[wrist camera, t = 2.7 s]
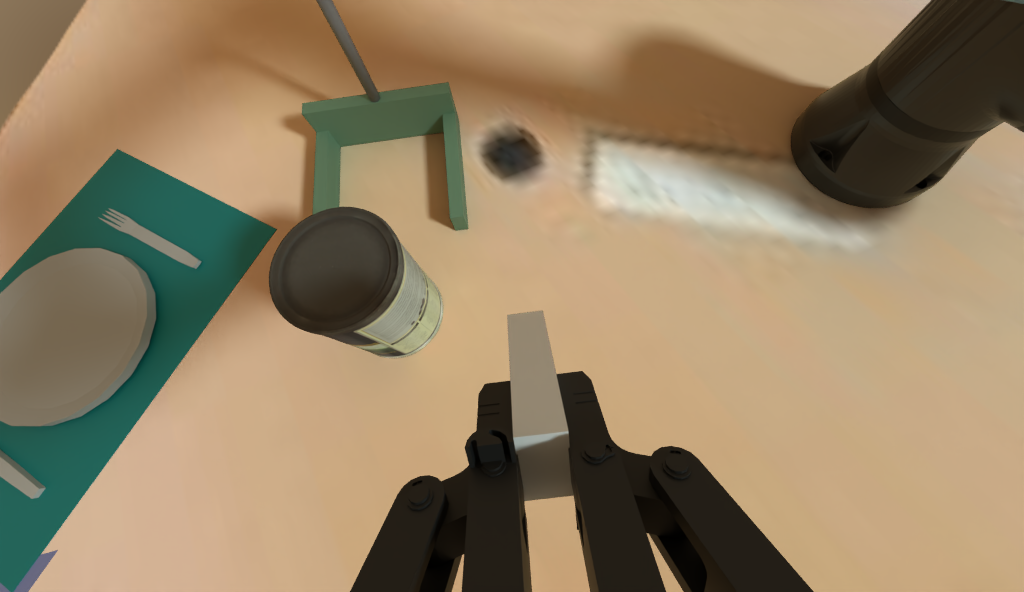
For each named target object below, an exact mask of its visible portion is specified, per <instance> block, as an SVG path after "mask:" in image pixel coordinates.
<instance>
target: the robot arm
mask: <svg viewBox="0 0 1024 592" xmlns="http://www.w3.org/2000/svg"><path fill="white" fill-rule="evenodd" d="M1003 122H1006V123H1008V124H1010V125H1011V126H1013V127H1015V128H1017V129H1019V130H1020V131H1022V132H1024V0H931V1H930V2H929V3H928V4H927V5H926V6H925V7H924V8H923V9H922V11H921V12H920V13H919V14H918V15H917V16H916V17H915V18H914V19H913V20H912V21H911V22H910V23H909V24H908V25H907V26H906V27H905V28H904V29H903V30H902V31H901V32H900V33H899V34H898V35H897V36H896V37H895V39H894V40H893V41H892V42H891V43H890V44H889V45H888V46H887V47H886V48H885V49H884V50H883V51H882V52H881V53H880V54H879V55H878V56H877V57H876V59H875V60H874V61H873V62H872V63H871V64H869V65H867V66H866V67H864V68H863V69H861V70H859V71H858V72H856V73H855V74H853V75H851V76H850V77H848V78H846V79H845V80H843V81H842V82H840V83H839V84H837V85H835V86H834V87H832V88H831V89H829V90H827V91H826V92H824V93H823V94H821V95H820V96H819V97H817V98H816V99H815V100H814V101H813V102H812V103H811V104H810V105H809V107H808V108H807V109H806V110H805V111H804V112H803V113H802V114H801V116H800V117H799V118H798V120H797V121H796V123H795V125H794V128H793V131H792V136H791V147H792V152H793V156H794V159H795V161H796V163H797V165H798V167H799V168H800V170H801V171H802V173H803V174H804V175H805V176H806V178H807V179H808V180H809V181H810V182H811V183H812V184H813V185H815V186H816V187H817V188H818V189H820V190H821V191H823V192H824V193H826V194H827V195H829V196H831V197H833V198H835V199H837V200H840V201H842V202H845V203H848V204H851V205H855V206H860V207H868V208H884V207H891V206H896V205H899V204H902V203H905V202H907V201H909V200H911V199H913V198H915V197H916V196H918V195H920V194H922V193H923V192H925V191H927V190H928V189H930V188H931V187H933V186H934V185H935V184H937V183H938V182H939V181H940V180H941V179H942V178H943V177H944V176H945V175H946V174H947V172H948V171H949V170H950V169H951V168H952V167H953V166H954V165H955V164H956V162H957V161H958V160H959V159H960V158H961V157H962V156H963V155H964V153H965V152H966V151H967V150H968V149H969V148H970V147H971V146H972V144H973V143H974V142H975V141H976V140H977V139H978V138H979V137H980V136H982V135H983V134H985V133H987V132H988V131H990V130H991V129H993V128H995V127H996V126H998V125H999V124H1001V123H1003ZM507 319H508V340H509V361H510V381H505V382H496V383H488V384H485V385H484V386H483V388H482V390H481V391H480V393H479V398H478V417H477V431H476V432H474V433H473V434H472V435H471V436H470V437H469V439H468V440H467V442H466V446H465V450H466V454H467V458H468V462H469V466H468V467H467V468H466V469H465V470H463V471H462V472H461V473H459V474H457V475H455V476H453V477H451V478H448V479H446V480H444V481H440V480H439V479H438V478H436V477H433V476H430V475H428V476H420V477H417V478H415V479H412V480H411V481H409V482H408V483H407V484H406V485H404V486H403V488H402V489H401V491H400V492H399V493H398V495H397V497H396V499H395V501H394V503H393V505H392V507H391V509H390V511H389V513H388V515H387V517H386V519H385V521H384V524H383V526H382V528H381V530H380V532H379V534H378V536H377V538H376V540H375V542H374V544H373V546H372V548H371V550H370V552H369V554H368V556H367V558H366V560H365V562H364V564H363V566H362V568H361V570H360V573H359V575H358V577H357V579H356V581H355V583H354V585H353V587H352V589H351V591H350V592H451V591H452V588H453V585H454V581H455V578H456V574H457V571H458V568H459V564H460V561H461V557H462V555H463V554H464V567H463V582H462V592H532V585H531V572H530V558H529V545H528V531H527V519H526V513H525V505H524V501H529V500H538V499H546V498H555V497H564V496H573V495H574V500H575V508H576V521H577V530H579V533H580V539H581V544H582V549H583V555H584V560H585V566H586V571H587V576H588V582H589V587H590V592H666V590H665V587H664V584H663V581H662V578H661V575H660V572H659V569H658V566H657V563H656V560H655V557H654V554H653V551H652V548H651V545H650V542H649V539H648V537H647V534H646V533H649V535H650V536H651V538H652V540H653V541H654V543H655V545H656V546H657V548H658V550H659V551H660V553H661V555H662V556H663V558H664V560H665V561H666V563H667V565H668V566H669V568H670V570H671V571H672V573H673V575H674V576H675V578H676V580H677V581H678V583H679V585H680V586H681V588H682V590H683V591H684V592H813V590H812V589H811V588H810V587H809V586H808V585H807V584H806V582H805V581H804V580H803V579H802V578H801V577H800V576H799V574H798V573H797V572H796V571H795V570H794V569H793V567H792V566H791V565H790V564H789V563H788V562H787V561H786V559H785V558H784V557H783V556H782V555H781V554H780V552H779V551H778V550H777V549H776V548H775V547H774V546H773V544H772V543H771V542H770V541H769V540H768V539H767V538H766V536H765V535H764V534H763V533H762V532H761V531H760V529H759V528H758V527H757V526H756V525H755V524H754V523H753V521H752V520H751V519H750V518H749V517H748V516H747V515H746V513H745V512H744V511H743V510H742V509H741V508H740V506H739V505H738V504H737V503H736V502H735V501H734V500H733V498H732V497H731V496H730V495H729V494H728V493H727V491H726V490H725V489H724V488H723V487H722V486H721V485H720V483H719V482H718V481H717V480H716V479H715V478H714V477H713V475H712V474H711V473H710V472H709V471H708V470H707V468H706V467H705V466H704V465H703V464H702V463H701V462H700V460H699V459H698V458H697V457H695V456H694V455H693V454H692V453H691V452H689V451H687V450H684V449H682V448H679V447H673V446H668V447H661V448H659V449H658V450H656V451H654V453H653V454H652V456H646V455H640V454H635V453H631V452H628V451H626V450H623V449H621V448H620V447H619V446H617V445H616V444H615V443H614V442H613V441H612V439H611V437H610V435H609V433H608V430H607V427H606V424H605V421H604V418H603V415H602V412H601V409H600V406H599V403H598V400H597V396H596V393H595V390H594V387H593V384H592V381H591V379H590V378H589V377H588V376H587V375H586V374H585V373H584V372H583V371H579V372H571V373H563V374H556V370H555V365H554V361H553V356H552V351H551V347H550V342H549V337H548V332H547V328H546V323H545V318H544V314H543V311H535V312H527V313H519V314H511V315H507Z"/></svg>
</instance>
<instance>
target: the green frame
mask: <svg viewBox="0 0 1024 592" xmlns="http://www.w3.org/2000/svg"><path fill="white" fill-rule="evenodd" d="M316 1H317V2H318V4H319V6H320V8H321V10H322V12H323V14H324V15H325V17H326V19H327V21H328V23H329V25H330V27H331V28H332V30H333V32H334V34H335V36H336V38H337V40H338V41H339V43H340V45H341V47H342V49H343V51H344V53H345V54H346V56H347V58H348V60H349V62H350V64H351V66H352V67H353V69H354V71H355V73H356V75H357V77H358V79H359V80H360V82H361V84H362V86H363V88H364V90H365V92H366V93H367V94H364V95H357V96H350V97H343V98H336V99H330V100H323V101H316V102H309V103H302V115H303V116H304V117H305V119H306V120H307V121H308V122H309V124H310V125H311V126H312V127H313V129H314V130H315V131H316V151H315V173H314V195H313V214H316V213H318V212H320V211H323V210H326V209H330V208H336V207H339V193H340V149H341V147H343V146H350V145H357V144H364V143H371V142H378V141H385V140H392V139H400V138H407V137H414V136H421V135H428V134H435V133H442V132H444V142H445V156H446V170H447V184H448V198H449V211H450V219H451V222H452V224H453V226H454V228H455V230H464V229H468V219H467V208H466V196H465V185H464V173H463V162H462V150H461V139H460V127H459V119H458V115H457V112H456V108H455V104H454V101H453V97H452V93H451V90H450V86H449V82H447V83H440V84H433V85H426V86H419V87H412V88H406V89H399V90H392V91H385V92H378V91H377V89H376V87H375V85H374V83H373V81H372V79H371V77H370V75H369V73H368V71H367V69H366V67H365V65H364V63H363V61H362V59H361V57H360V55H359V53H358V51H357V49H356V47H355V45H354V43H353V41H352V39H351V37H350V35H349V33H348V31H347V29H346V27H345V25H344V23H343V21H342V19H341V17H340V15H339V13H338V11H337V9H336V7H335V5H334V3H333V1H332V0H316Z"/></svg>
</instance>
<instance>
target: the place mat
mask: <svg viewBox="0 0 1024 592" xmlns="http://www.w3.org/2000/svg"><path fill="white" fill-rule="evenodd" d="M276 230H277V229H275V228H273V227H271V226H269V225H267V224H265V223H263V222H261V221H259V220H257V219H255V218H253V217H251V216H249V215H247V214H245V213H243V212H241V211H239V210H237V209H235V208H233V207H231V206H229V205H227V204H225V203H223V202H221V201H219V200H217V199H215V198H213V197H211V196H209V195H208V194H206V193H204V192H202V191H200V190H198V189H196V188H194V187H192V186H190V185H188V184H186V183H184V182H182V181H180V180H178V179H176V178H174V177H172V176H170V175H168V174H166V173H164V172H162V171H160V170H158V169H156V168H154V167H152V166H150V165H148V164H146V163H144V162H142V161H140V160H138V159H136V158H134V157H132V156H130V155H128V154H126V153H124V152H122V151H120V150H118V149H117V150H116V151H115V152H114V153H113V155H112V156H111V157H110V158H109V159H108V160H107V161H106V162H105V164H104V165H103V166H102V167H101V168H100V169H99V170H98V171H97V173H96V174H95V175H94V176H93V177H92V178H91V179H90V180H89V181H88V183H87V184H86V185H85V186H84V187H83V188H82V189H81V190H80V192H79V193H78V194H77V195H76V196H75V197H74V198H73V199H72V200H71V202H70V203H69V204H68V205H67V206H66V207H65V208H64V209H63V211H62V212H61V213H60V214H59V215H58V216H57V217H56V218H55V219H54V221H53V222H52V223H51V224H50V225H49V226H48V227H47V228H46V230H45V231H44V232H43V233H42V234H41V235H40V236H39V237H38V238H37V240H36V241H35V242H34V243H33V244H32V245H31V246H30V247H29V249H28V250H27V251H26V252H25V253H24V254H23V255H22V256H21V257H20V259H19V260H18V261H17V262H16V263H15V264H14V265H13V266H12V268H11V269H10V270H9V271H8V272H7V273H6V274H5V275H4V277H3V278H2V279H1V280H0V592H28V591H29V590H30V588H31V587H32V586H33V584H34V583H35V581H36V580H37V579H38V577H39V576H40V574H41V573H42V572H43V570H44V569H45V567H46V566H47V565H48V563H49V562H50V560H51V559H52V558H53V556H54V555H55V554H56V552H57V551H58V550H57V551H53V552H49V553H46V554H42V555H40V554H41V553H42V552H43V550H44V549H45V548H46V546H47V545H48V543H49V542H50V541H51V539H52V538H53V537H54V535H55V534H56V532H57V531H58V530H59V528H60V527H61V526H62V524H63V523H64V521H65V520H66V519H67V517H68V516H69V515H70V513H71V512H72V510H73V509H74V508H75V506H76V505H77V504H78V502H79V501H80V499H81V498H82V497H83V495H84V494H85V493H86V491H87V490H88V488H89V487H90V486H91V484H92V483H93V482H94V480H95V479H96V477H97V476H98V475H99V473H100V472H101V471H102V469H103V468H104V466H105V465H106V464H107V462H108V461H109V460H110V458H111V457H112V455H113V454H114V453H115V451H116V450H117V449H118V447H119V446H120V444H121V443H122V442H123V440H124V439H125V438H126V436H127V435H128V433H129V432H130V431H131V429H132V428H133V427H134V425H135V424H136V422H137V421H138V420H139V418H140V417H141V415H142V414H143V413H144V411H145V410H146V409H147V407H148V406H149V404H150V403H151V402H152V400H153V399H154V398H155V396H156V395H157V393H158V392H159V391H160V389H161V388H162V387H163V385H164V384H165V382H166V381H167V380H168V378H169V377H170V376H171V374H172V373H173V371H174V370H175V369H176V367H177V366H178V365H179V363H180V362H181V360H182V359H183V358H184V356H185V355H186V354H187V352H188V351H189V349H190V348H191V347H192V345H193V344H194V343H195V341H196V340H197V338H198V337H199V336H200V334H201V333H202V332H203V330H204V329H205V327H206V326H207V325H208V323H209V322H210V321H211V319H212V318H213V316H214V315H215V314H216V312H217V311H218V310H219V308H220V307H221V305H222V304H223V303H224V301H225V300H226V299H227V297H228V296H229V294H230V293H231V292H232V290H233V289H234V288H235V286H236V285H237V283H238V282H239V281H240V279H241V278H242V277H243V275H244V274H245V272H246V271H247V270H248V268H249V267H250V266H251V264H252V263H253V261H254V260H255V259H256V257H257V256H258V254H259V253H260V252H261V250H262V249H263V248H264V246H265V245H266V243H267V242H268V241H269V239H270V238H271V237H272V235H273V234H274V232H275V231H276Z"/></svg>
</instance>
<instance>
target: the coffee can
mask: <svg viewBox="0 0 1024 592" xmlns="http://www.w3.org/2000/svg"><path fill="white" fill-rule="evenodd" d="M269 287H270V294H271V296H272V300H273V302H274V305H275V306H276V308H277V310H278V311H279V313H280V314H281V315H282V316H283V317H284V318H285V319H286V320H287V321H288V322H289V323H291V324H292V325H294V326H295V327H297V328H299V329H301V330H304V331H307V332H310V333H314V334H319V335H323V336H326V337H329V338H332V339H335V340H338V341H340V342H343V343H346V344H349V345H352V346H355V347H357V348H360V349H363V350H366V351H369V352H371V353H373V354H375V355H378V356H380V357H384V358H401V357H406V356H409V355H412V354H414V353H416V352H418V351H419V350H421V349H422V348H424V347H425V346H426V345H427V344H428V343H429V342H430V341H431V340H432V338H433V337H434V336H435V334H436V333H437V331H438V329H439V326H440V323H441V320H442V316H443V303H442V298H441V294H440V292H439V290H438V288H437V286H436V285H435V284H434V282H433V281H432V280H431V279H430V278H428V276H427V275H426V274H425V273H424V271H423V270H422V269H421V268H420V266H419V265H418V264H417V262H416V261H415V260H414V259H413V258H412V256H411V255H410V254H409V253H408V251H407V250H406V249H405V248H404V246H403V245H402V244H401V243H400V242H399V240H398V238H397V236H396V234H395V233H394V232H393V230H392V229H391V227H390V226H389V225H388V224H387V223H386V222H385V221H384V220H383V219H382V218H380V217H379V216H377V215H375V214H374V213H371V212H369V211H366V210H364V209H359V208H354V207H336V208H330V209H326V210H323V211H320V212H318V213H316V214H313V215H311V216H309V217H308V218H306V219H304V220H303V221H301V222H300V223H298V224H297V225H296V226H295V227H294V228H293V229H292V230H291V231H290V232H289V233H288V234H287V235H286V236H285V238H284V239H283V240H282V242H281V243H280V245H279V247H278V248H277V250H276V252H275V254H274V257H273V259H272V262H271V267H270V272H269Z"/></svg>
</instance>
